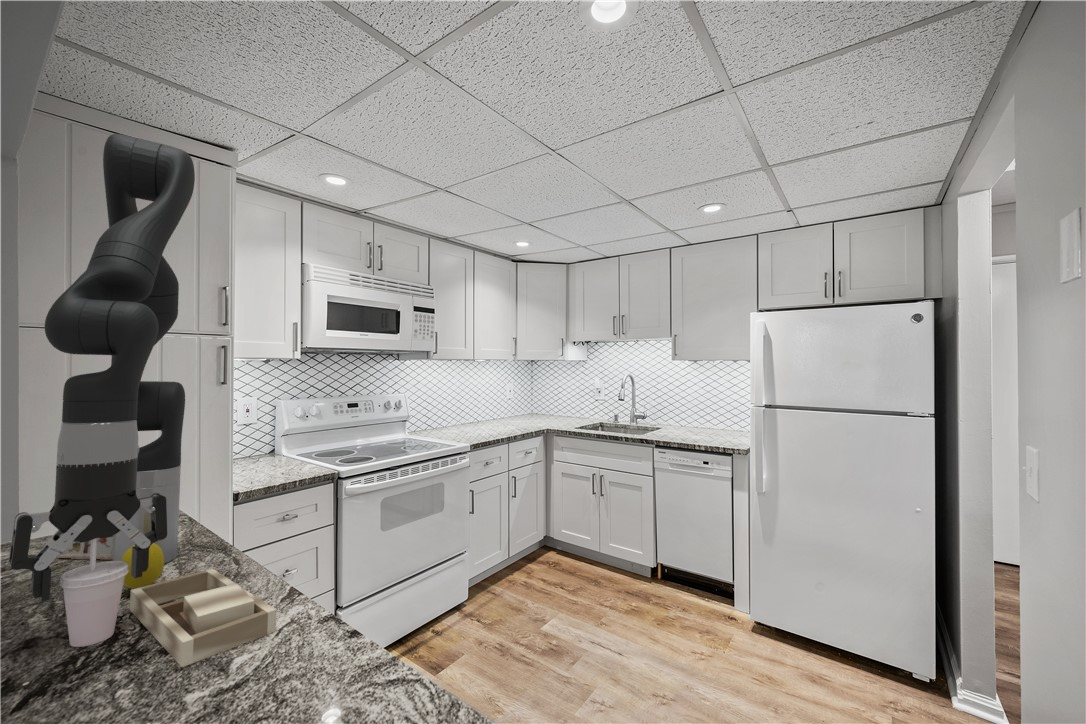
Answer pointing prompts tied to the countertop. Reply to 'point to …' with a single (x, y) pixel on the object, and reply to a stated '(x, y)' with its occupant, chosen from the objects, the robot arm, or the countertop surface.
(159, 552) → the lemon
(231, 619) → the offcut top
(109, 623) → the smoothie
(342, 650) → the countertop surface
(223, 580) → the offcut rack
